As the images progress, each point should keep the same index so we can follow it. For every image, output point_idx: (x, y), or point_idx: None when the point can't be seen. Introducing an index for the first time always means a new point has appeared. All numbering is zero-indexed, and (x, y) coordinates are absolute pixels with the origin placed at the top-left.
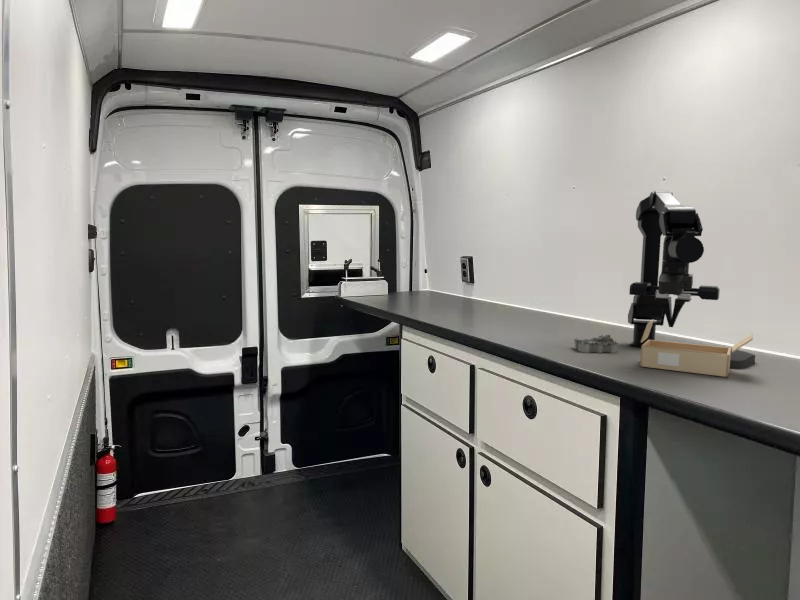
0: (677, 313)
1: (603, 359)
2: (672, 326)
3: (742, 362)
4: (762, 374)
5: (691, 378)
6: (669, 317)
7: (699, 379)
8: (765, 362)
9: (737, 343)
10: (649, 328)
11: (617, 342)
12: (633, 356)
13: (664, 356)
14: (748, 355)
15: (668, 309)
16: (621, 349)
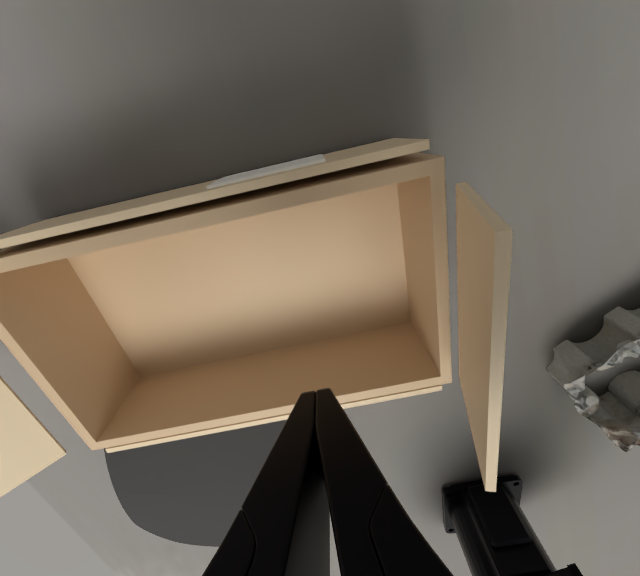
0: (238, 518)
1: (588, 177)
2: (302, 394)
3: None
4: (27, 376)
5: (112, 59)
6: (332, 451)
7: (77, 69)
8: None
9: (24, 459)
10: (473, 368)
11: (575, 396)
12: None
13: (289, 165)
14: (127, 497)
15: (356, 552)
16: (535, 415)
